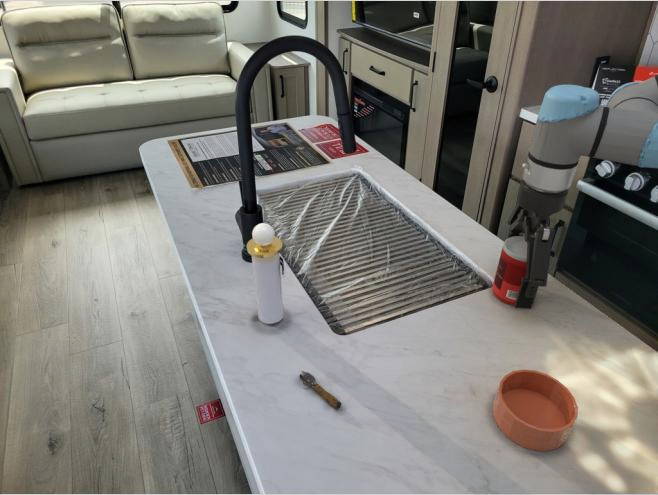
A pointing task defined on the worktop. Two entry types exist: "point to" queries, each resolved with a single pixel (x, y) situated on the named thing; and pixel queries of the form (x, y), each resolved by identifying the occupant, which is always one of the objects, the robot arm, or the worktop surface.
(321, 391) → the can opener
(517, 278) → the canned food
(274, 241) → the perfume bottle
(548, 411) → the bowl
